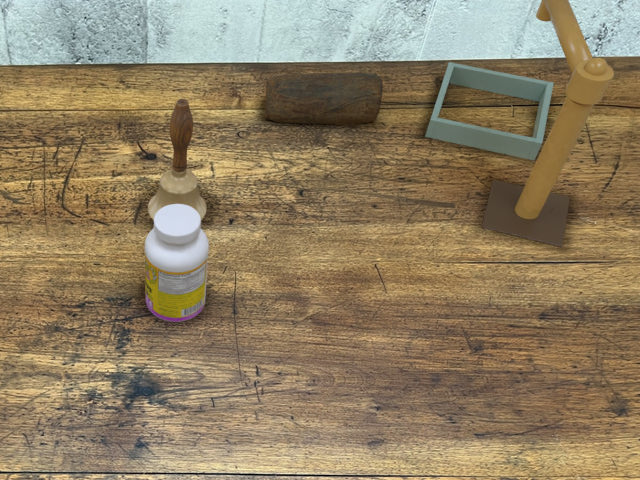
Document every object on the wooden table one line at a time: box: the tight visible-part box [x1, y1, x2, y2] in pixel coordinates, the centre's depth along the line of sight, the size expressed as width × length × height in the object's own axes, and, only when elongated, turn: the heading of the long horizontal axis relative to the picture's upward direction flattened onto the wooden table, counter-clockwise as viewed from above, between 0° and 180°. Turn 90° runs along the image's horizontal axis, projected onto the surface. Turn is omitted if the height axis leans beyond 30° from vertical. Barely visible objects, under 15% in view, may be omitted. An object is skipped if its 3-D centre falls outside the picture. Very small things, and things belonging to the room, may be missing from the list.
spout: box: [535, 0, 615, 105], centre depth 88 cm, size 20×4×5 cm, turn 175°
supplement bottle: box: [144, 204, 210, 323], centre depth 86 cm, size 7×7×13 cm
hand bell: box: [147, 98, 207, 221], centre depth 94 cm, size 8×8×16 cm
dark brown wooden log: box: [263, 72, 384, 125], centre depth 108 cm, size 15×7×7 cm, turn 90°
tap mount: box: [481, 96, 595, 248], centre depth 91 cm, size 9×9×17 cm
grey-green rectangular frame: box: [424, 61, 555, 161], centre depth 107 cm, size 14×14×4 cm
